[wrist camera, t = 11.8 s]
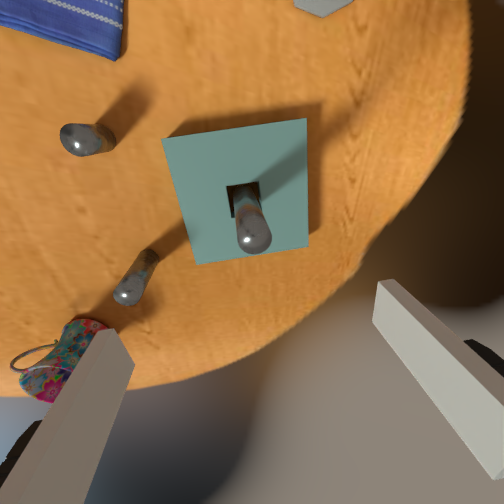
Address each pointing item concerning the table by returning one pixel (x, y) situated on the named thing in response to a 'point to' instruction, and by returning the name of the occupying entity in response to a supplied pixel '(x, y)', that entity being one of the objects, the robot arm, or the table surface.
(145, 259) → the medium pin
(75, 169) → the table surface
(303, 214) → the hole block
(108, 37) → the dish towel
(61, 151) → the table surface
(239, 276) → the table surface
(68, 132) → the short pin
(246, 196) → the long pin
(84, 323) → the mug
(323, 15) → the wineglass
